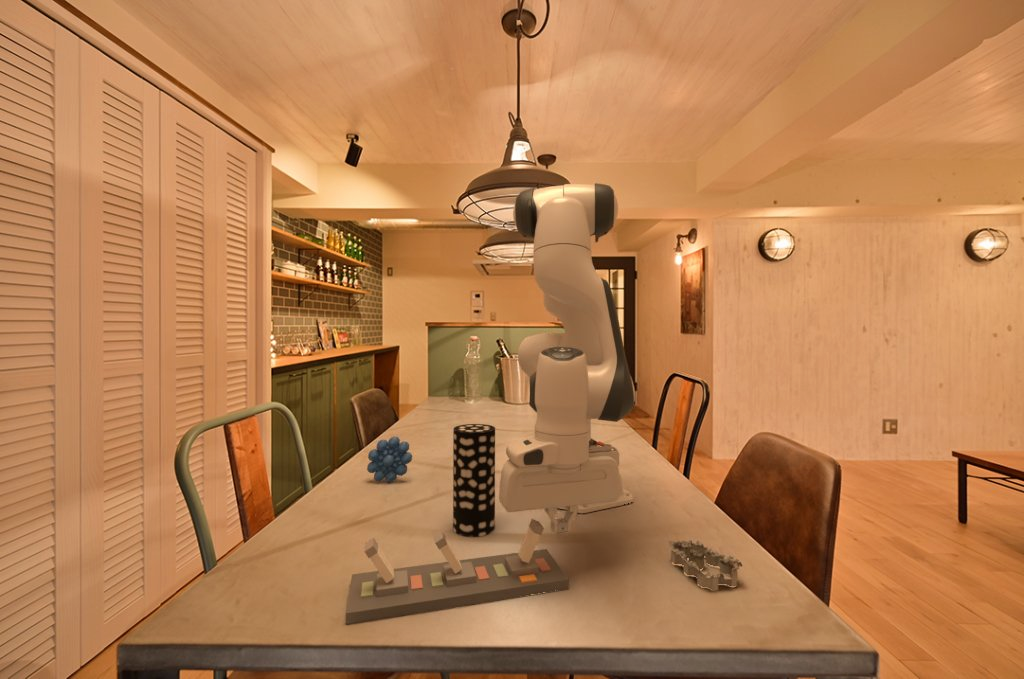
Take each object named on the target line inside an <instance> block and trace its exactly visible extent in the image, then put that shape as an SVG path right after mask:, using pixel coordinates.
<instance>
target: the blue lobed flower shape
mask: <svg viewBox="0 0 1024 679" xmlns="http://www.w3.org/2000/svg"><path fill="white" fill-rule="evenodd" d="M400 441H401V439H400V438H399V437H398V436H392V437H390V438H389V440H387V439H380V440H378V442H377V443H376V447H375V449H371V450H370V451H369V452H368V453H367V454H368V456H367V458H368V460H369V461H370V462H369V463H368V464H367V467H366V470H367V472H368V473H370V474H373V479H374V480H375V482H381V481H383V480H384V479H385V482H387V483H394V482H395V481H396V479H397V477H398V476H401V477H402V476H404V475H405V474H407V472H408V466H407V465H408V464H410V463H411V462H412V460H413V454H412V453H411V452H408V451H409V449H410V444H409V442H408V441H401V442H400Z"/></svg>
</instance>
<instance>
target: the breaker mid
mask: <svg viewBox="0 0 1024 679" xmlns="http://www.w3.org/2000/svg"><path fill="white" fill-rule="evenodd" d="M433 540H434V544H435V545H436V547H437V548H438V550H440V552H441V553H442V555H443V557H444V558H445V560H446V562H448V563H449V565H450V566H451V568H452V569H453V571H454V573H455V574H456V573H457V572H459V571H460V570H461V569H462V567H461V564H460V561H459V560H460V558H458V556H457V554H456V553H455V551H454V549H453V548H452V546H451V545H450V542H448V540H447V538H446V536H445V533H444V532H443V531H442V530H440V531H438V532H437V533H435V534H434V535H433Z"/></svg>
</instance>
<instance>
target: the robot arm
mask: <svg viewBox="0 0 1024 679" xmlns="http://www.w3.org/2000/svg"><path fill="white" fill-rule="evenodd" d="M512 209H513V211H512V213H513V214H512V216H513V221H514V222H513V223H514V225H515V227H516V229H517V232H518V234H520V235H521V236H522V237H524V238H528V239H531V240H533V251H532V252H533V258H532V259H533V260H532V263H533V273H534V280H535V282H536V284H537V285H538V287H539V289H540V290H541V291H542V292H543V305H544V308H545V310H546V311H547V312H548V314H551V315H552V316H554V317H556V318H557V319H558V320H559V321H560V322H561V324H562V327H563V330H564V332H563V333H562V332H541V333H537V334H533V335H529V336H526V337H525V338H524V339H522V341H521V342H520V345H519V347H518V350H517V360H518V365H519V367H520V369H521V370H522V372H524V374H526V375H527V376H528V377H529V379H528V380H529V383H528V384H529V405H528V406H530V408H531V409H532V410H533V411H534V412H535V413H536V420H535V424H534V433H533V434H531V435H528V436H526V437H523V438H521V439H517V440H516V441H512V442H510V443H509V444H507V445H506V447H505V454H506V455H507V457H508V460H506V461H505V462H504V463H503V465H502V468H501V474H500V478H499V479H500V480H499V492H498V497H499V498H498V499H499V503H500V504H501V506H502V508H503V509H505V512H507V513H517V512H526V511H536V510H544V512H545V514H546V515H547V516H548V518H549V520H550V531H551V532H552V534H554V535H557V534H565V533H571V532H572V522H574V519H575V518H576V516H577V513H578V514H587V513H591V512H595V511H596V512H597V511H600V510H605V509H609V508H614V507H619V506H625V505H628V503H629V504H632V503H631V502H634V498H633V497H634V496H633V494H632V493H631V492H630V491H629V490H628V489H627V488H625V487H624V486H623V480H622V476H621V473H620V470H619V465H620V453H619V450H618V449H617V448H616V447H614V446H612V444H609V443H608V444H607V443H606V444H605V443H604V442H602V441H597V440H595V439H594V438H592V435H591V434H592V428H591V427H592V426H591V425H592V420H598V421H606V422H614V423H617V422H620V421H621V420H622V419H624V418H625V417H626V416H628V414H630V413H631V411H632V410H634V407H635V400H636V390H635V385H634V381H633V378H632V376H631V372H630V368H629V365H628V361H627V358H626V351H625V346H624V341H623V336H622V332H621V326H620V321H619V316H618V312H617V307H616V302H615V299H614V295H613V291H612V289H611V286H610V284H609V281H608V280H607V279H604V278H602V277H601V276H600V275H599V274H598V272H597V271H596V268H595V267H594V264H593V259H592V258H593V257H592V242H591V241H592V240H591V237H593V236H595V237H594V240H595V242H594V243H595V244H596V243H598V242H599V239H600V238H602V237H603V236H605V235H607V234H608V233H609V232H610V231H611V230H612V229H613V228H614V224H615V222H616V220H617V218H618V212H619V204H618V199H617V196H616V194H615V191H614V189H613V188H612V187H611V186H610V185H607V184H605V183H604V184H603V183H597V182H596V183H594V184H588V183H587V184H585V183H567V184H566V183H564V184H563V185H553V186H545V187H540V188H536V189H535V188H534V187H533V188H528V189H525V190H522V191H520V192H519V194H518V195H517V196H516V198H515V202H514V206H513V208H512ZM624 504H625V505H624ZM558 509H560V510H566V511H565V514H564V516H563V517H561V518H556V517H555V514H558V513H557V510H558Z"/></svg>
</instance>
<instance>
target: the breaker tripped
mask: <svg viewBox="0 0 1024 679" xmlns="http://www.w3.org/2000/svg"><path fill="white" fill-rule="evenodd" d="M544 529H545V527H544V526H543V525H542V523H541V522H540V521H539V520H536V519H534V518H531V519H530V522H529V525H528V529H527V531H526V533H525V536H524V539H523V541H522V543H521V545H520V548H519V549H518V550H519V551H518V552H517V553H518V555H519V556H520V558H521V560H522V561H524V562H527V563H529V562H530V559H531V557H532V554H533V552H534V550H536V547H537V545H538V542H539V540H540V537H541V536H542V534H543V532H544Z"/></svg>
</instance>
